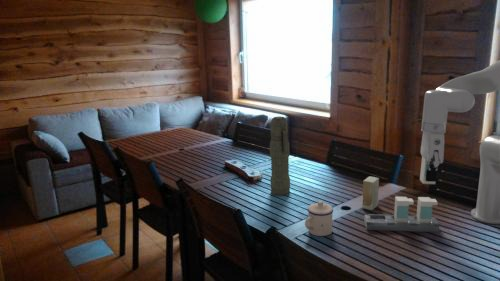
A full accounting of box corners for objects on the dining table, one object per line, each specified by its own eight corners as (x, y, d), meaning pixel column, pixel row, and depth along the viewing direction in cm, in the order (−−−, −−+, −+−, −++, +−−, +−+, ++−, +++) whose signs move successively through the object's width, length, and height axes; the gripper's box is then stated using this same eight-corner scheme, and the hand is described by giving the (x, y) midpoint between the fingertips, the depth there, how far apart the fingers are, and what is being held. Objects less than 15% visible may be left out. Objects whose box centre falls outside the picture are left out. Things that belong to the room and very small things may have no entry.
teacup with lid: (319, 223, 154) (319, 194, 151) (338, 231, 147) (338, 201, 144) (296, 233, 147) (296, 203, 144) (315, 242, 140) (315, 211, 137)
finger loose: (436, 180, 142) (439, 155, 140) (441, 185, 137) (444, 159, 135) (419, 179, 142) (422, 155, 140) (423, 184, 138) (426, 159, 136)
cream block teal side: (432, 220, 148) (434, 197, 146) (436, 226, 143) (438, 202, 141) (416, 219, 149) (417, 197, 147) (419, 225, 144) (421, 202, 142)
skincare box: (368, 203, 170) (369, 175, 167) (378, 205, 167) (379, 177, 164) (361, 208, 165) (362, 180, 162) (372, 210, 162) (373, 182, 159)
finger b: (410, 219, 149) (411, 196, 147) (413, 225, 145) (414, 202, 142) (393, 218, 150) (395, 196, 148) (396, 224, 146) (397, 201, 143)
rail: (433, 223, 150) (433, 215, 149) (439, 232, 143) (439, 224, 142) (364, 221, 154) (364, 214, 153) (366, 229, 147) (366, 222, 146)
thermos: (280, 198, 178) (279, 121, 169) (265, 190, 188) (263, 117, 179) (296, 193, 183) (295, 118, 174) (280, 186, 192) (278, 114, 183)
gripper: (454, 133, 127) (448, 187, 131) (437, 122, 143) (431, 171, 147) (429, 132, 127) (424, 186, 132) (415, 121, 144) (410, 170, 148)
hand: (428, 177), depth 140 cm, fingers closed on finger loose, 4 cm apart
